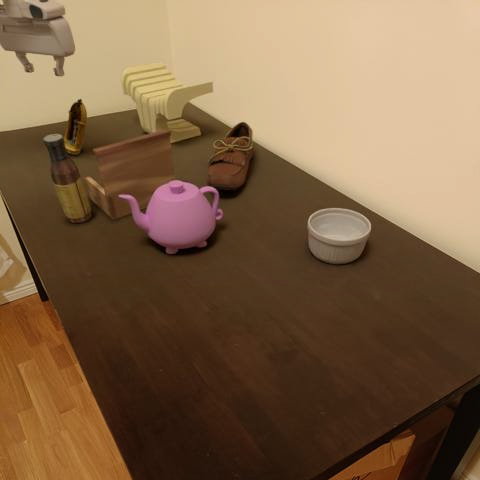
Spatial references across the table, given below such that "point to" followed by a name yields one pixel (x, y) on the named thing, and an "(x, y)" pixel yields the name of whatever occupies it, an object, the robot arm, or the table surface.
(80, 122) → the shrine
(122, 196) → the teapot
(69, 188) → the sauce bottle
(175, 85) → the slatted curved stool
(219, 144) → the moccasin
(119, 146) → the wooden holder
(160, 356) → the table surface
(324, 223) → the ramekin
